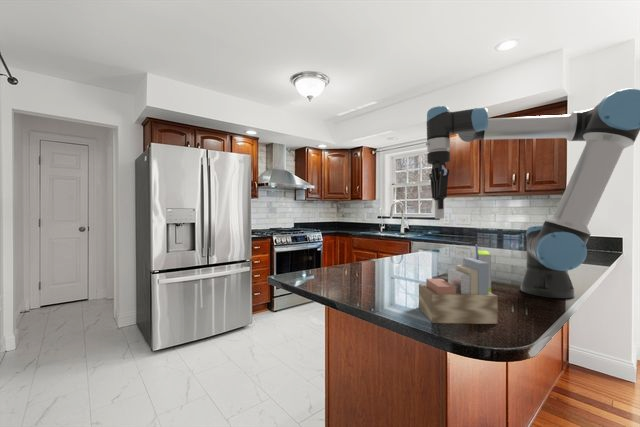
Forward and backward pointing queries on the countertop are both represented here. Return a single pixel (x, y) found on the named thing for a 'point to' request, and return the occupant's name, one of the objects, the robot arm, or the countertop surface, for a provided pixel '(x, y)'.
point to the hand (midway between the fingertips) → (439, 218)
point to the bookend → (459, 281)
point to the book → (440, 286)
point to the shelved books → (476, 275)
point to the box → (486, 258)
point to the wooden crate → (458, 307)
